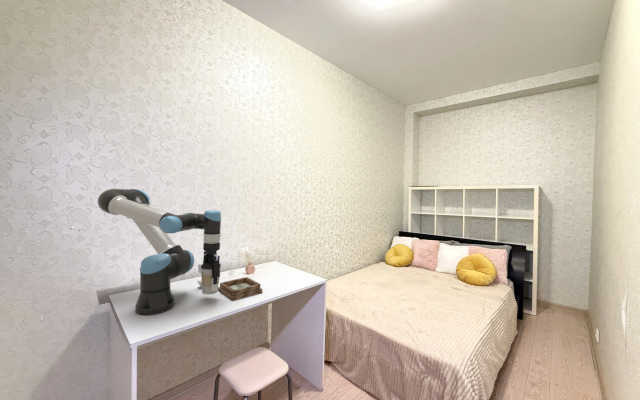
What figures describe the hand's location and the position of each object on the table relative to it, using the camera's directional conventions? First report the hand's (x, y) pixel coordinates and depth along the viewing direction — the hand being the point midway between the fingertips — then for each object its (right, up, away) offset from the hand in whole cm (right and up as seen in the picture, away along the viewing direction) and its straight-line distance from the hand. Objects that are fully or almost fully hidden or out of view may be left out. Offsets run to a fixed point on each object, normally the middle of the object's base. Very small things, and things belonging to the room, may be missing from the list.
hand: (210, 287), depth 129 cm
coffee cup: (0, -2, 0) cm, 2 cm away
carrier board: (+11, -6, +12) cm, 17 cm away
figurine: (-9, -6, +17) cm, 20 cm away
